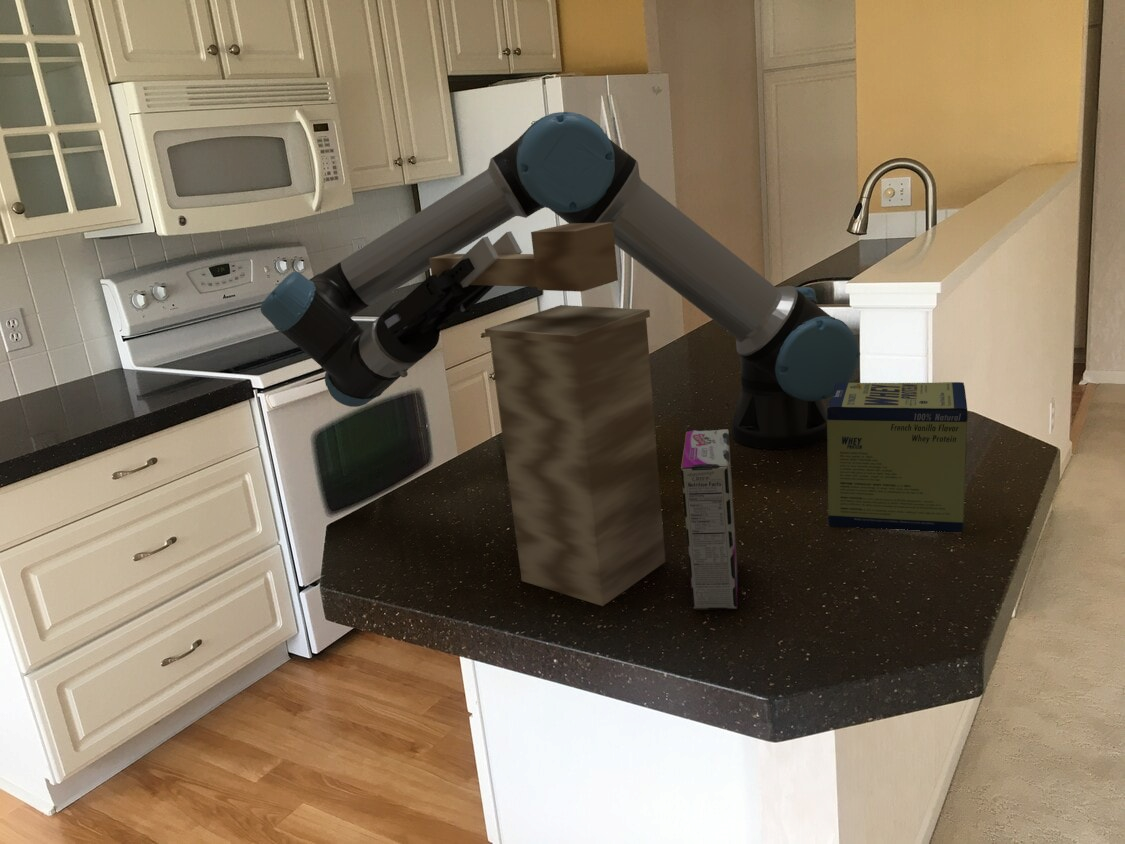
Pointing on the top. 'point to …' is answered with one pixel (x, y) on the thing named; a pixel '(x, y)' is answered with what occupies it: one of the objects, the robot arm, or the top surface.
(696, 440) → the candy bar box
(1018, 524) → the top surface
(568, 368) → the block
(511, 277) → the mallet
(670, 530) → the top surface
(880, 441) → the protein box
